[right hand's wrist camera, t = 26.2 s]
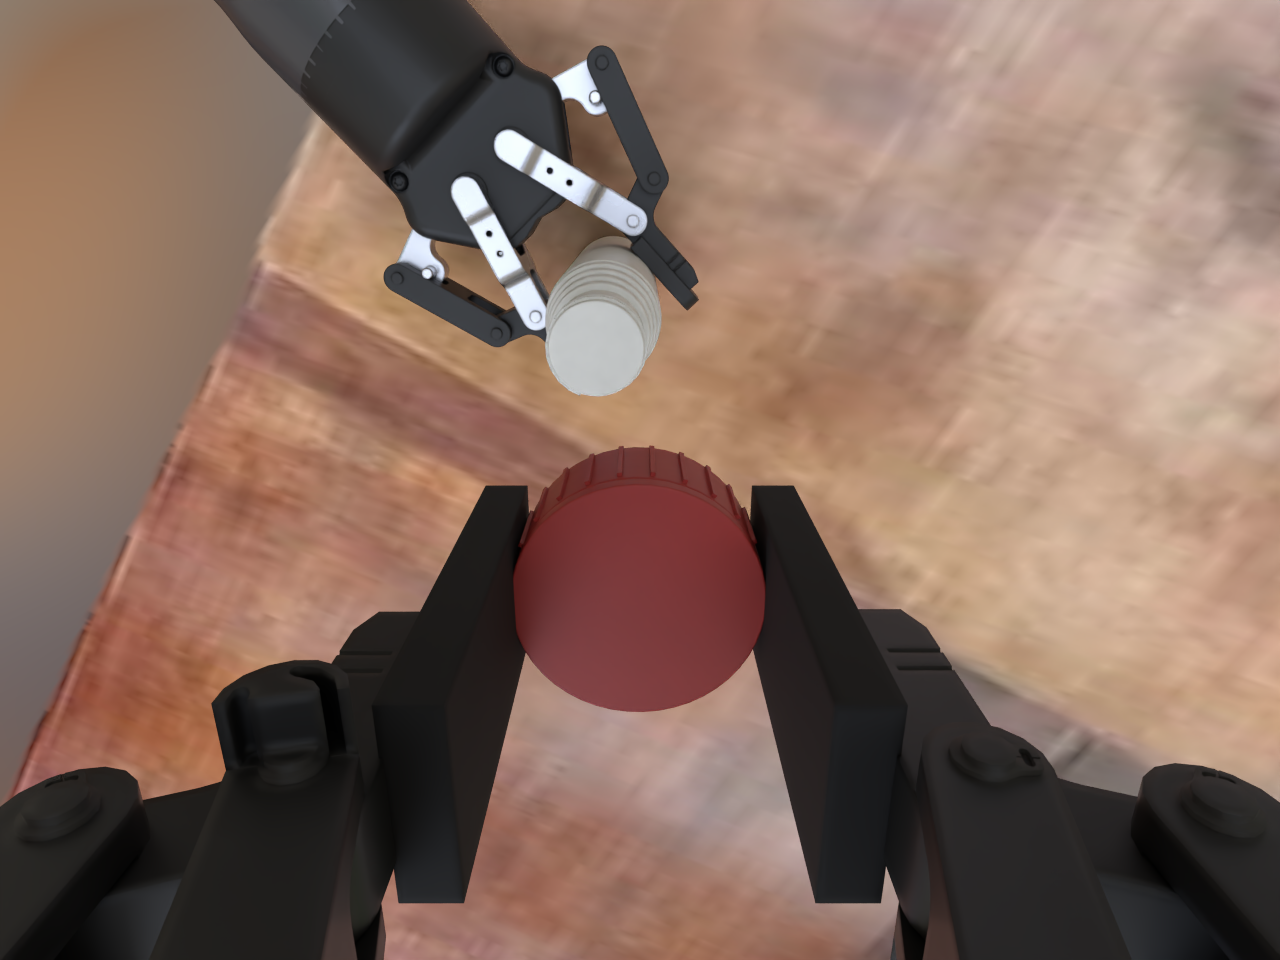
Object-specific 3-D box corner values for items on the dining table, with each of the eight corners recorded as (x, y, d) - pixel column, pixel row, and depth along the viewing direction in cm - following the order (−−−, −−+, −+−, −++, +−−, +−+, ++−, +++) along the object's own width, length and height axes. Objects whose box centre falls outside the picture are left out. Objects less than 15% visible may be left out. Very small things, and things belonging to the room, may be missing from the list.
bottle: (595, 220, 41) (563, 250, 23) (669, 260, 41) (692, 320, 24) (559, 295, 42) (501, 378, 24) (630, 333, 43) (625, 441, 25)
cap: (683, 686, 16) (689, 751, 14) (485, 596, 15) (463, 652, 13) (797, 509, 14) (820, 555, 13) (586, 401, 14) (578, 433, 12)
